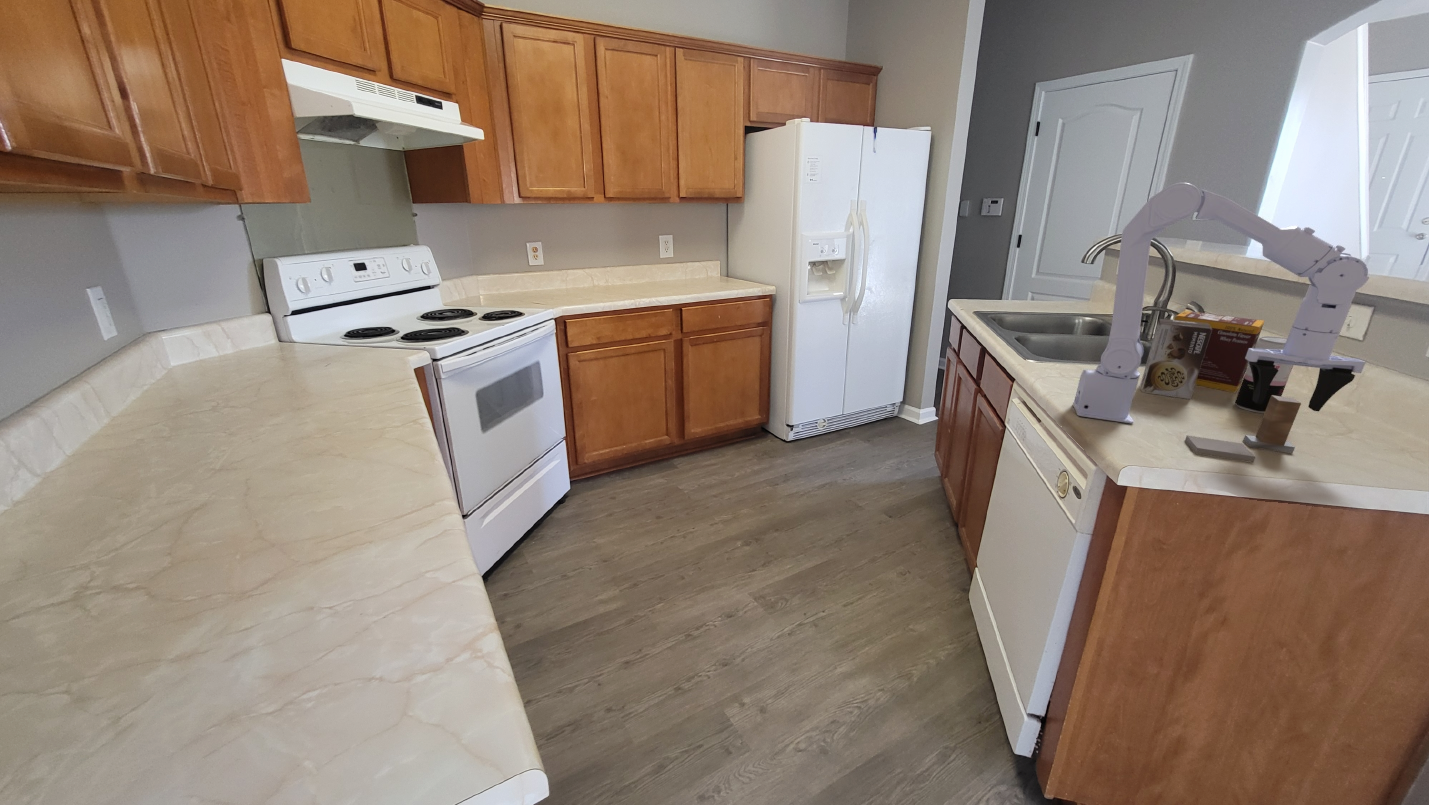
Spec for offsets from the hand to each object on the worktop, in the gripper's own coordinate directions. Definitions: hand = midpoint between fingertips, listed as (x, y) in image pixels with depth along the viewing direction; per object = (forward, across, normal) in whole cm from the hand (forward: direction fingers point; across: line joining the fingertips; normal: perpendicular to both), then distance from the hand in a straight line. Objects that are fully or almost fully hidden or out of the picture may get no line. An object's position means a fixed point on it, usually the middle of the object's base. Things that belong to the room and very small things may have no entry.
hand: (1284, 405), depth 99 cm
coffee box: (+8, -9, +29) cm, 31 cm away
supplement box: (+8, +2, +44) cm, 45 cm away
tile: (+8, -9, -3) cm, 12 cm away
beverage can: (+8, +6, +25) cm, 27 cm away
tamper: (+8, 0, 0) cm, 8 cm away
